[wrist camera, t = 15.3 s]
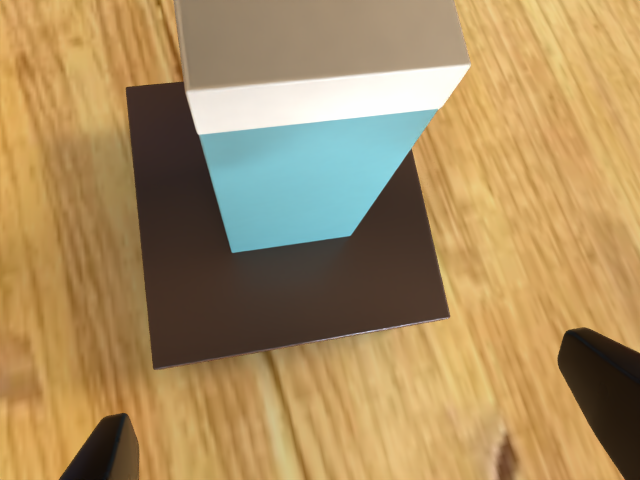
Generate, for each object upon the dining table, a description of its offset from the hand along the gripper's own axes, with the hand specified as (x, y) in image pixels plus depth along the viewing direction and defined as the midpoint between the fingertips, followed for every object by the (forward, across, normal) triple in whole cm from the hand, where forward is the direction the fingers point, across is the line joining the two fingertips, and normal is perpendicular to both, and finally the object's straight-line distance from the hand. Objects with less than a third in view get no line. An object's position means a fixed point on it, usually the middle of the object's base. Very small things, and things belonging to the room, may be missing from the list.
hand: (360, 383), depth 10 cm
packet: (+12, 0, +2) cm, 12 cm away
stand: (+14, 0, +4) cm, 15 cm away
